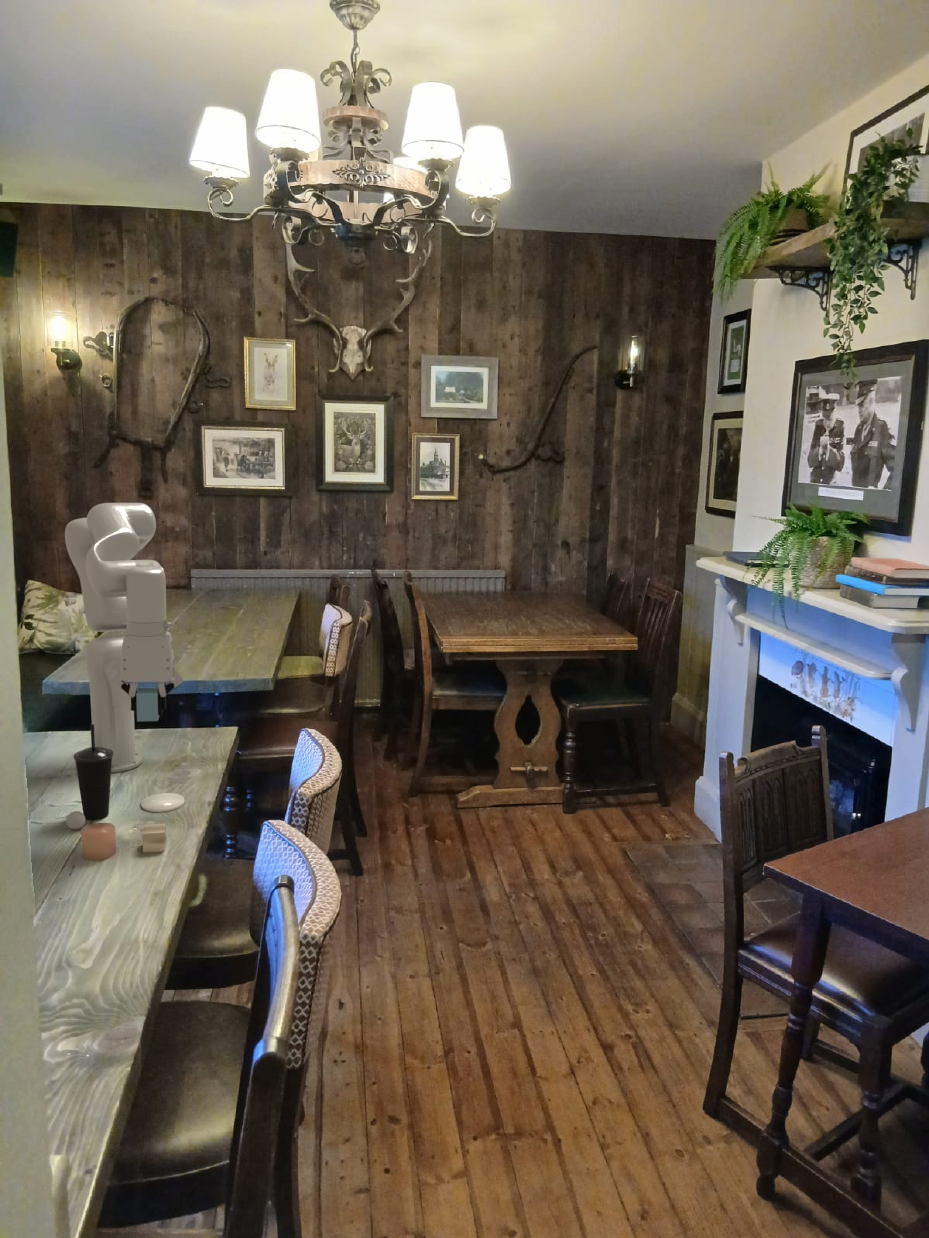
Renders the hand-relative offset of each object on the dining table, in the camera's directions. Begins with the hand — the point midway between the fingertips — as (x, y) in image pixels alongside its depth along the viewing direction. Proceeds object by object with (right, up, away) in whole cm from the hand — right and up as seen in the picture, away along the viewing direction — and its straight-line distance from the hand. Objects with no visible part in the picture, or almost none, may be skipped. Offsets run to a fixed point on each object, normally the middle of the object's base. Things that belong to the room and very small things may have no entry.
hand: (148, 712), depth 182 cm
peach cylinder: (-5, -26, -13) cm, 29 cm away
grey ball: (-14, -23, -4) cm, 27 cm away
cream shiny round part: (-1, -21, +10) cm, 23 cm away
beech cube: (+5, -25, -10) cm, 28 cm away
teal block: (0, -1, 0) cm, 1 cm away
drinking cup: (-12, -22, +3) cm, 25 cm away
